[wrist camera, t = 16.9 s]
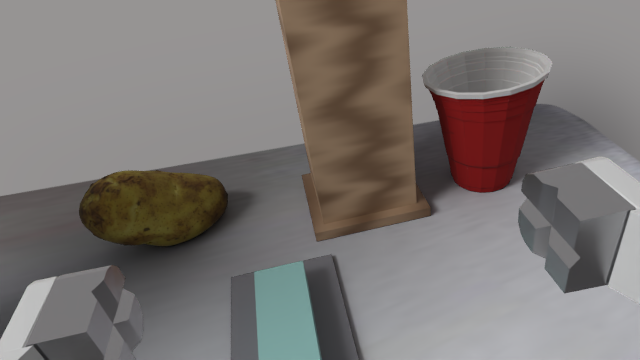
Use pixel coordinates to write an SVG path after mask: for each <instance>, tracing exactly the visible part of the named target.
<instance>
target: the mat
mask: <svg viewBox="0 0 640 360" xmlns="http://www.w3.org/2000/svg"><path fill="white" fill-rule="evenodd" d="M303 264H304V268H305V272H306V276H307V280H308V285H309V291H310V296H311V302H312V307H313V313H314V318H315V324H316V329H317V334H318V340H319V345H320V351H321V356H322V360H359V359H358V355H357V351H356V347H355V344H354V340H353V336H352V332H351V328H350V324H349V320H348V317H347V313H346V309H345V305H344V301H343V297H342V293H341V290H340V286H339V282H338V278H337V274H336V270H335V266H334V262H333V259H332V255H331V254H330V255H326V256H322V257H317V258H313V259H309V260H304V261H303ZM231 360H259V357H258V337H257V318H256V299H255V280H254V272H252V273H247V274H243V275H239V276H234V277H231Z"/></svg>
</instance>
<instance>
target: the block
mask: <svg viewBox="0 0 640 360" xmlns="http://www.w3.org/2000/svg"><path fill="white" fill-rule="evenodd" d="M254 280H255V299H256V318H257V337H258V357H259V360H322V356H321V351H320V345H319V340H318V334H317V329H316V324H315V318H314V313H313V307H312V302H311V296H310V291H309V285H308V280H307V276H306V272H305V268H304V264H303V261H299V262H295V263H290V264H286V265H282V266H277V267H273V268H268V269H264V270H260V271H255V272H254Z"/></svg>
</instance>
